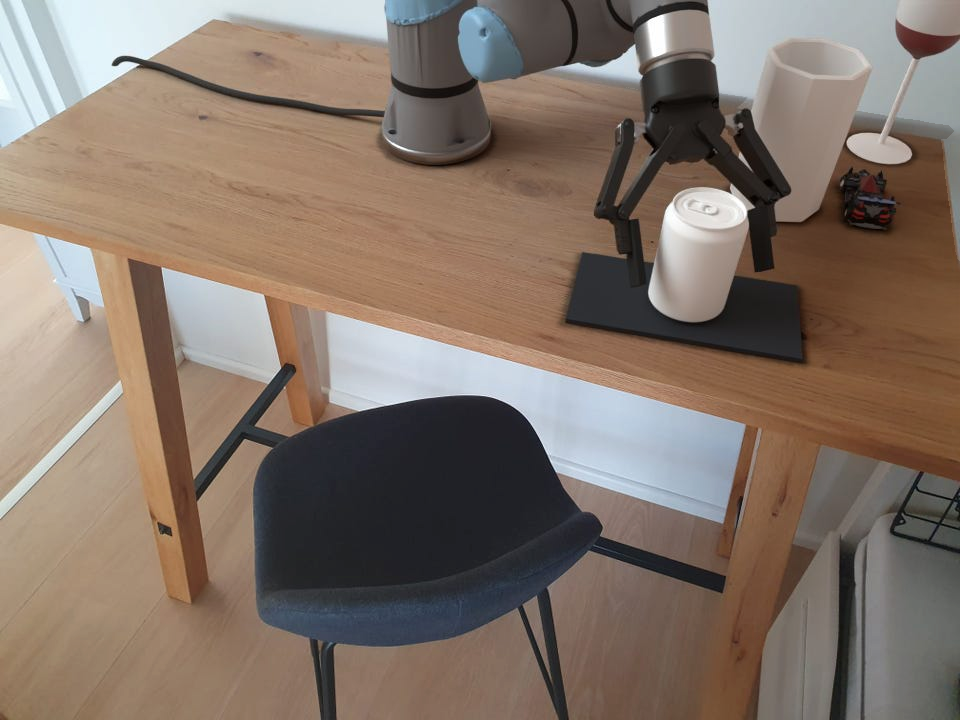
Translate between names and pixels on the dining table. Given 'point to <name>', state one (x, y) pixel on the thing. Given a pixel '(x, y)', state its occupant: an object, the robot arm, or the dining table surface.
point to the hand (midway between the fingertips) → (702, 278)
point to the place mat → (739, 327)
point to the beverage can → (698, 254)
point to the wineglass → (911, 67)
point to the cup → (806, 116)
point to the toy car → (863, 190)
